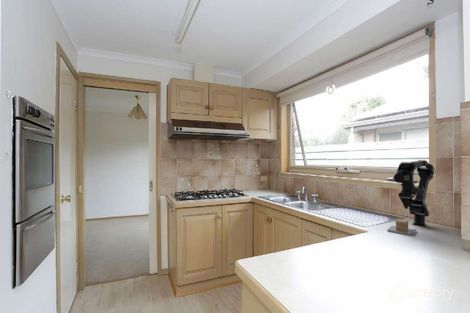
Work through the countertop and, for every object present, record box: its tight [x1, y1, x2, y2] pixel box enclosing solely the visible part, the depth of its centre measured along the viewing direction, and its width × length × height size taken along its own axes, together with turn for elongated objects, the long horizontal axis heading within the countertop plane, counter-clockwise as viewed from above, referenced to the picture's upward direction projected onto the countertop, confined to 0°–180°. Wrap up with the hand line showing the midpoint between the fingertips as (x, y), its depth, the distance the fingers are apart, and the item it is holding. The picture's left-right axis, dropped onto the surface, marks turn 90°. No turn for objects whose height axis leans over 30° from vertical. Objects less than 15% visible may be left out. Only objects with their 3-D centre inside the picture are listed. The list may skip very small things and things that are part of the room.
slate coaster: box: [387, 225, 418, 237], centre depth 137 cm, size 12×12×1 cm
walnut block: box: [395, 218, 409, 231], centre depth 137 cm, size 5×5×5 cm
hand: (407, 207), depth 145 cm, fingers open, 9 cm apart
